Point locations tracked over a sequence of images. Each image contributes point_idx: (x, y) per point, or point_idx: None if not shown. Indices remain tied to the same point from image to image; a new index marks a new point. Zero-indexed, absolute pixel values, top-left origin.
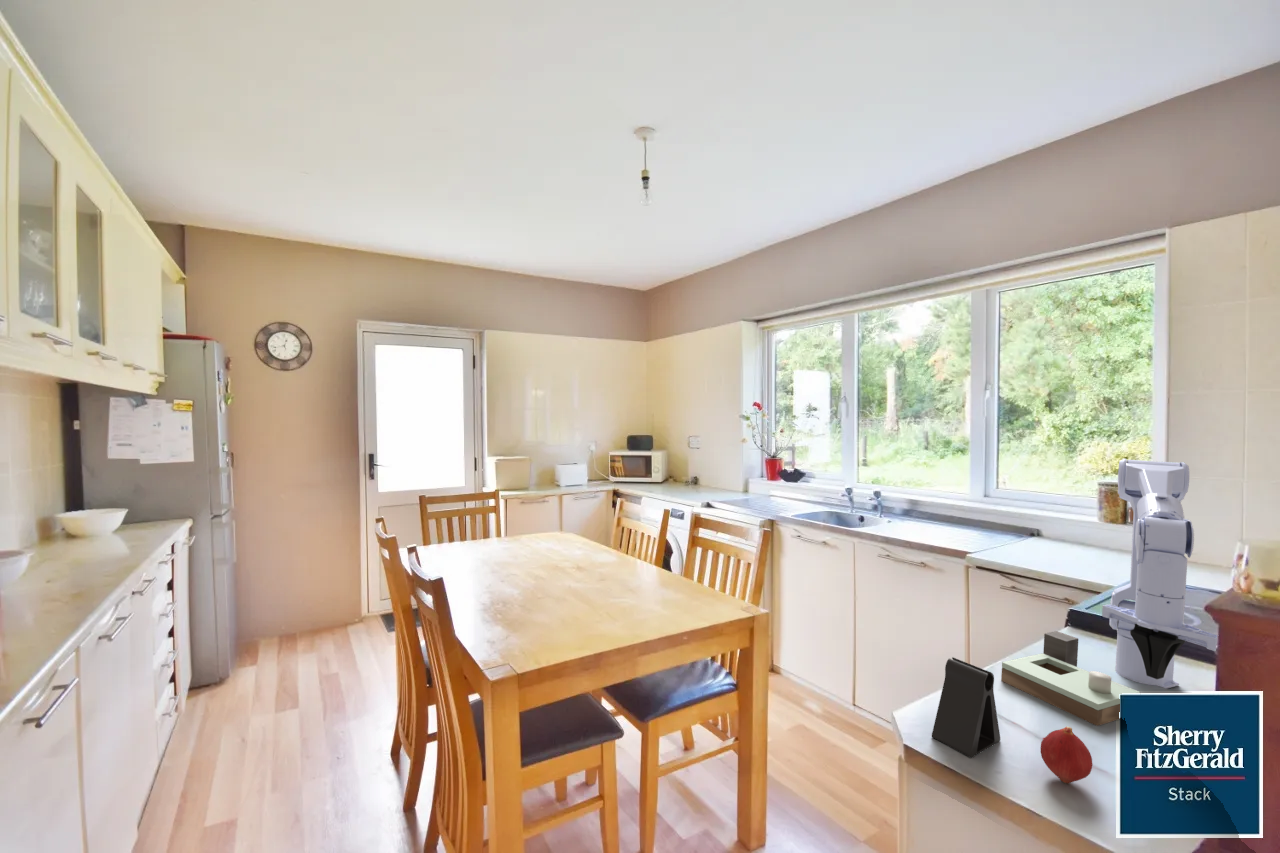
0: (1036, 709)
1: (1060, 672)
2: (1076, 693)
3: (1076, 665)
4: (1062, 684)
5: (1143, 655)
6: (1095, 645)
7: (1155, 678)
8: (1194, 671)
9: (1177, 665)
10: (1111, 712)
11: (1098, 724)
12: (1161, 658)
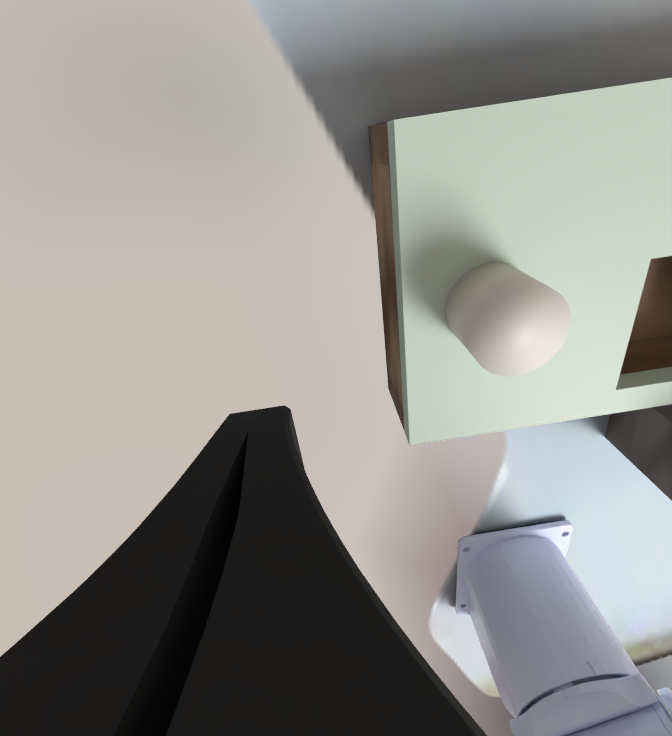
0: (587, 16)
1: (654, 359)
2: (515, 121)
3: (637, 464)
4: (605, 152)
5: (293, 504)
6: (645, 614)
7: (233, 415)
8: (477, 670)
9: None
10: (388, 242)
11: (374, 136)
12: (102, 564)
